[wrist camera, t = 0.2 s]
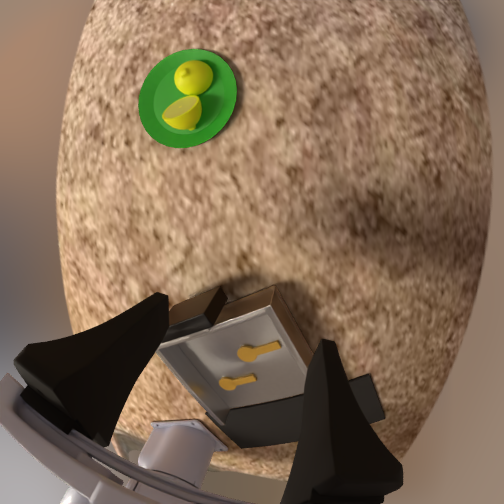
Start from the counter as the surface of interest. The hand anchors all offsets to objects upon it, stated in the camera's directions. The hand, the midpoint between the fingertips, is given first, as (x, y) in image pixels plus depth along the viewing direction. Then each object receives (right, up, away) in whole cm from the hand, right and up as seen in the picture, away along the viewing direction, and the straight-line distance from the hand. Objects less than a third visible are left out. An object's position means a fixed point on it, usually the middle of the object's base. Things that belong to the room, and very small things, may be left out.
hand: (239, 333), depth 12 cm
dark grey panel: (+6, -16, +16) cm, 23 cm away
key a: (-1, -9, +14) cm, 16 cm away
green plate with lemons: (-4, +15, +6) cm, 17 cm away
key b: (+1, -5, +12) cm, 13 cm away
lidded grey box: (0, -5, +13) cm, 14 cm away
